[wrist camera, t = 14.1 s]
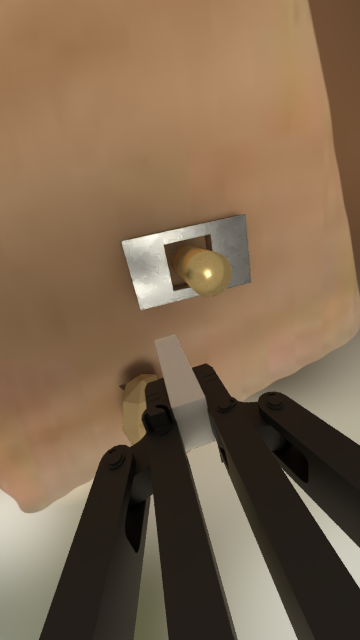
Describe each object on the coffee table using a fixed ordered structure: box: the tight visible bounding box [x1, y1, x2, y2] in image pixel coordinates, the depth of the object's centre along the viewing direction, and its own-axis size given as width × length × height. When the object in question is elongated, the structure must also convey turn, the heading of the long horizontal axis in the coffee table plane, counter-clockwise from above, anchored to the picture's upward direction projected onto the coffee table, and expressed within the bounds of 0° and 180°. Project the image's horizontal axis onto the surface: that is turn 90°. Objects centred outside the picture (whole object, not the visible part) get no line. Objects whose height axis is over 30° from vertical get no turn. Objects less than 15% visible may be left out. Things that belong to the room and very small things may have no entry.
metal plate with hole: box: [121, 214, 251, 310], centre depth 32 cm, size 16×9×2 cm, turn 102°
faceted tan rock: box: [120, 374, 191, 453], centre depth 35 cm, size 15×11×12 cm
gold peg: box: [172, 245, 232, 297], centre depth 28 cm, size 4×4×11 cm
